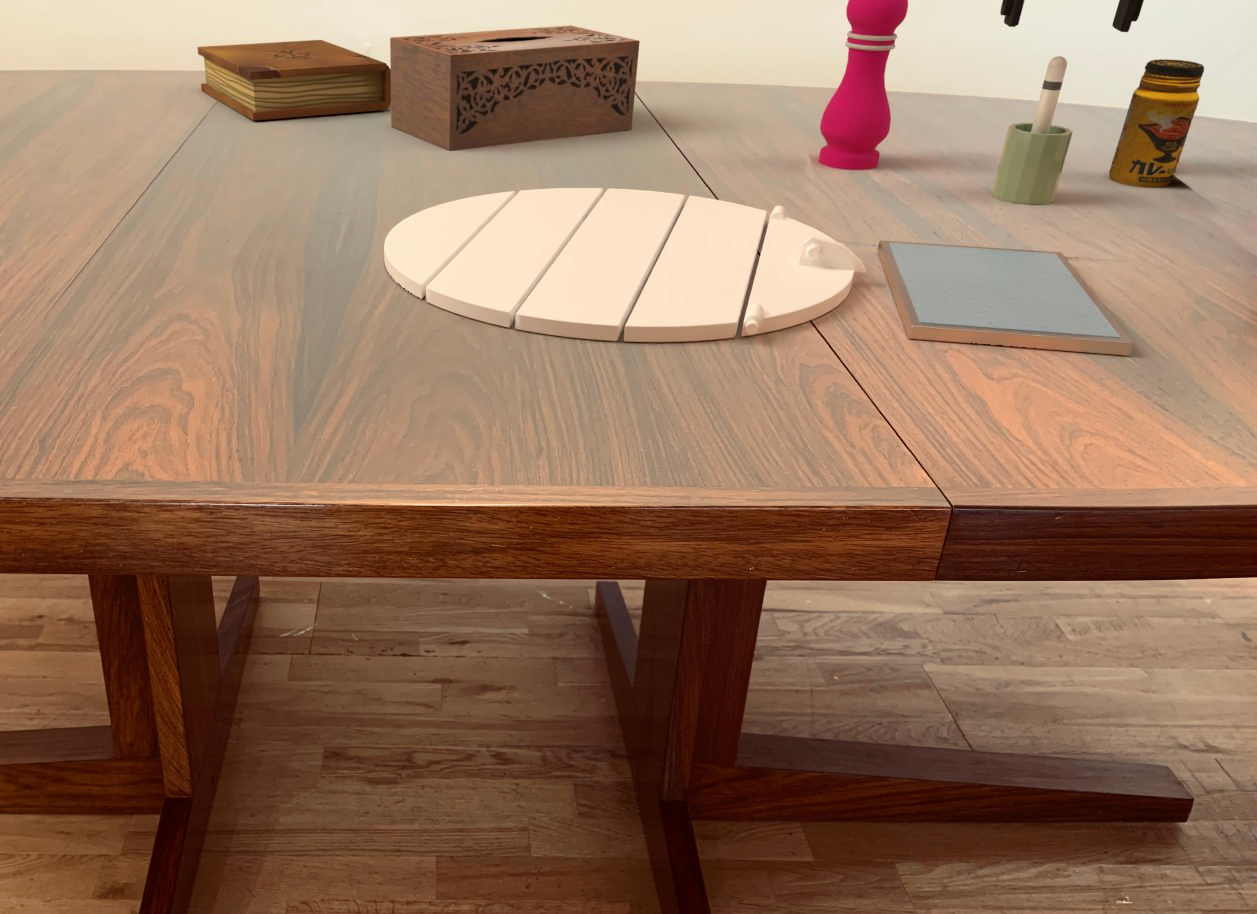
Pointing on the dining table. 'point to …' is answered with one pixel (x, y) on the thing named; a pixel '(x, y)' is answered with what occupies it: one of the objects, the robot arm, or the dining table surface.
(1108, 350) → the tablet
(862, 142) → the pepper mill
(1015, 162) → the pen pot
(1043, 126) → the stylus
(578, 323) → the round wooden slat board
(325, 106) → the diary
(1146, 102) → the condiment
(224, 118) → the dining table surface
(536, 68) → the tissue box cover
